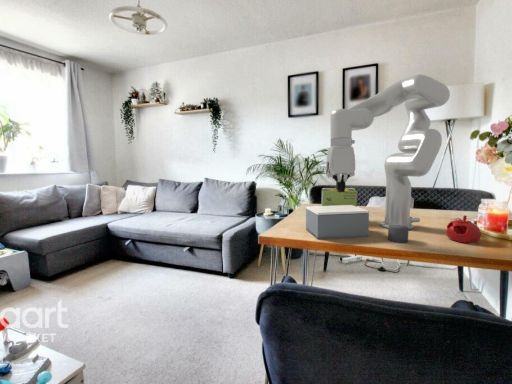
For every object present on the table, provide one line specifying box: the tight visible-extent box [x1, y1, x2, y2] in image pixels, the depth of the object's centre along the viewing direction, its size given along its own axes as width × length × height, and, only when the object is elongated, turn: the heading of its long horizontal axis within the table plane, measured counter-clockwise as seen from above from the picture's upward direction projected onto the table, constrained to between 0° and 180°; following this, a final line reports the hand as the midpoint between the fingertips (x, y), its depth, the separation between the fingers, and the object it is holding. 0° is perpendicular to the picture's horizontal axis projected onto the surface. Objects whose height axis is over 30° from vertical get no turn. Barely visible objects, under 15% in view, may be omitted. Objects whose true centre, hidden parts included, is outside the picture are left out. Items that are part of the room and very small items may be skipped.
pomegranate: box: [446, 215, 482, 244], centre depth 94 cm, size 10×10×9 cm
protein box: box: [321, 187, 358, 207], centre depth 127 cm, size 10×15×16 cm
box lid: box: [305, 205, 370, 215], centre depth 106 cm, size 20×14×1 cm
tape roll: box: [387, 225, 410, 244], centre depth 96 cm, size 6×6×5 cm
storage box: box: [305, 208, 370, 240], centre depth 106 cm, size 20×14×9 cm
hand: (340, 191), depth 102 cm, fingers closed
